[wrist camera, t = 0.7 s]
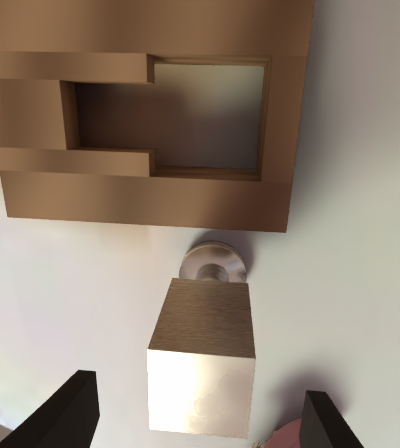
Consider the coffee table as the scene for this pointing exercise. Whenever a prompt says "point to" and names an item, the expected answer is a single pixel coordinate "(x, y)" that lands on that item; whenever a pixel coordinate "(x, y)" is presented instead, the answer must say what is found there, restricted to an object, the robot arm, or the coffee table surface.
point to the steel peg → (204, 347)
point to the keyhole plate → (144, 74)
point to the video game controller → (284, 437)
